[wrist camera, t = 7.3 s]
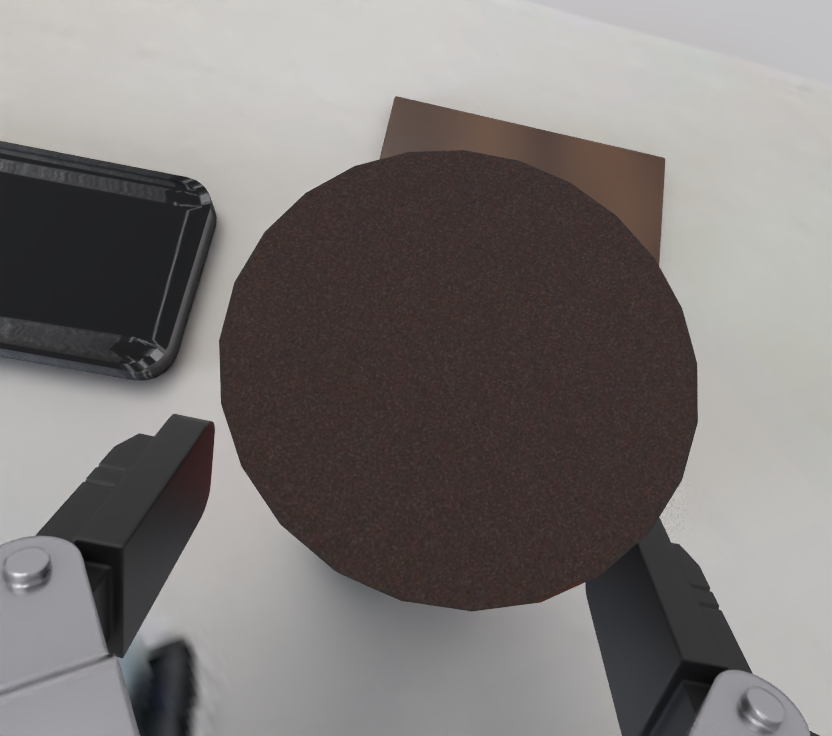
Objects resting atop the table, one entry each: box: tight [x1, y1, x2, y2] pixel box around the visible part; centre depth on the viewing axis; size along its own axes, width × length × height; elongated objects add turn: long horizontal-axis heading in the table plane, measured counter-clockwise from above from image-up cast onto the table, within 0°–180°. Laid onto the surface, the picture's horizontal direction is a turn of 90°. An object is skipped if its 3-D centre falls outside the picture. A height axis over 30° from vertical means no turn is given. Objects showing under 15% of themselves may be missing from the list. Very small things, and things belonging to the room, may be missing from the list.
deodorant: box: [219, 150, 698, 611], centre depth 15 cm, size 6×6×15 cm
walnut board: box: [380, 96, 665, 265], centre depth 25 cm, size 12×11×1 cm
